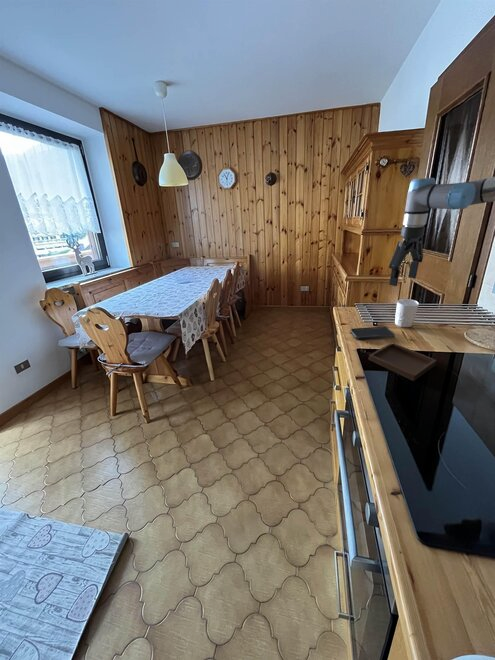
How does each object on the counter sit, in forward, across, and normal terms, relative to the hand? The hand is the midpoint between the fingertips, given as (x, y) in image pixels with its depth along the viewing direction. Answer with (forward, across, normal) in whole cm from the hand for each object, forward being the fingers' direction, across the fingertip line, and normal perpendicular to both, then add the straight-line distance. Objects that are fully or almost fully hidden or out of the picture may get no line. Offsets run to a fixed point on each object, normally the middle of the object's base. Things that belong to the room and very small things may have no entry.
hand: (402, 281), depth 113 cm
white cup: (+19, -2, +3) cm, 19 cm away
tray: (+19, +26, +18) cm, 37 cm away
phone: (+19, +16, 0) cm, 25 cm away
